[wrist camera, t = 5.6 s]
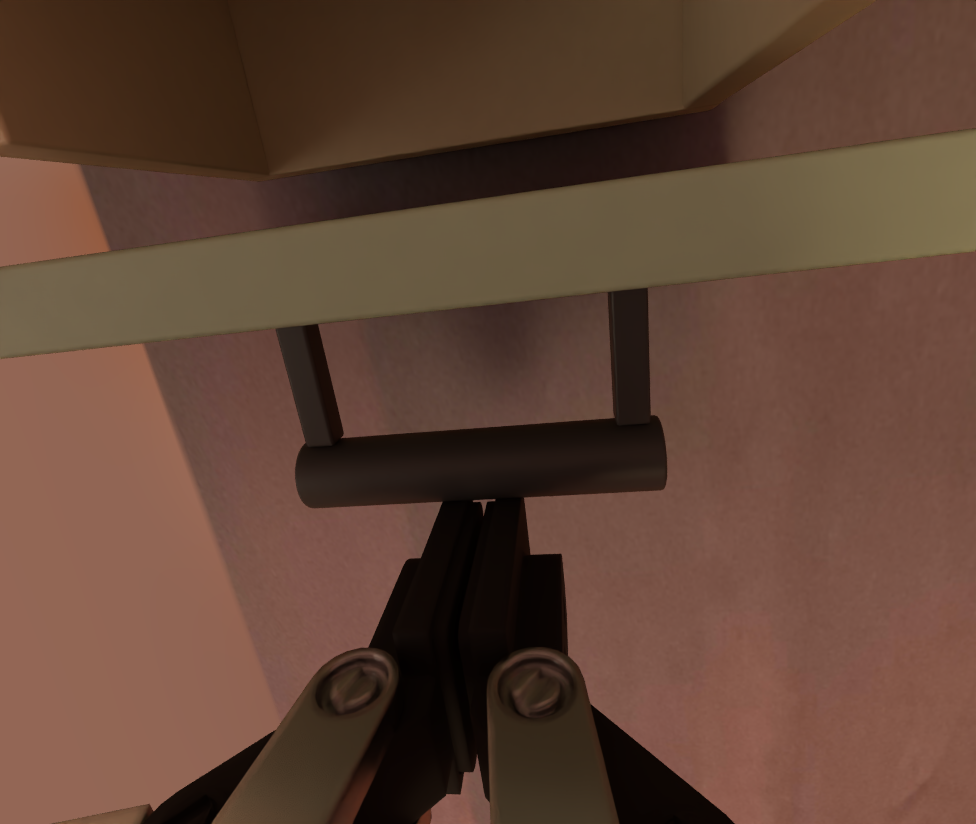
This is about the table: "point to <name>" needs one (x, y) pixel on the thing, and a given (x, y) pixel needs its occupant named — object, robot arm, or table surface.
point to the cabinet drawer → (445, 227)
